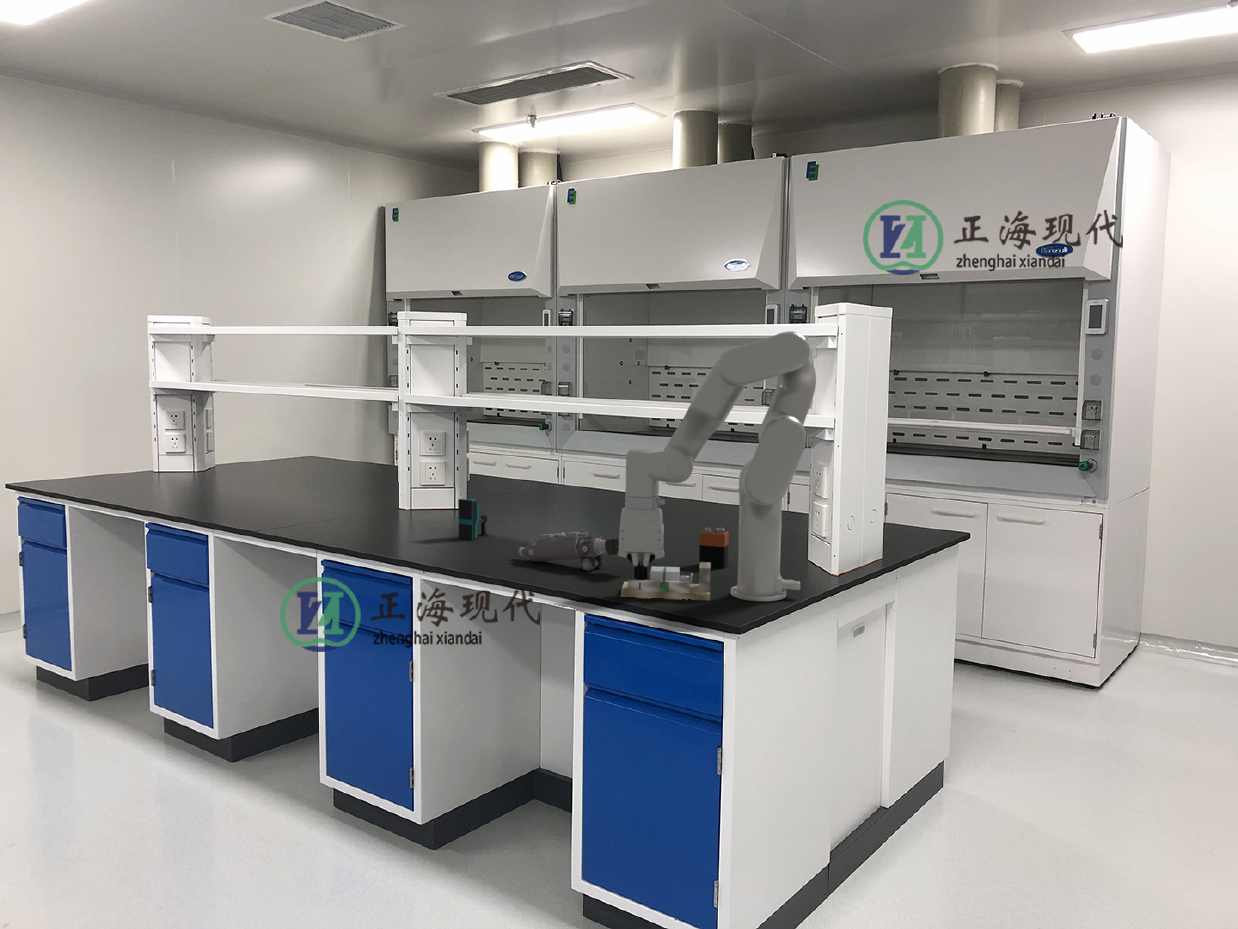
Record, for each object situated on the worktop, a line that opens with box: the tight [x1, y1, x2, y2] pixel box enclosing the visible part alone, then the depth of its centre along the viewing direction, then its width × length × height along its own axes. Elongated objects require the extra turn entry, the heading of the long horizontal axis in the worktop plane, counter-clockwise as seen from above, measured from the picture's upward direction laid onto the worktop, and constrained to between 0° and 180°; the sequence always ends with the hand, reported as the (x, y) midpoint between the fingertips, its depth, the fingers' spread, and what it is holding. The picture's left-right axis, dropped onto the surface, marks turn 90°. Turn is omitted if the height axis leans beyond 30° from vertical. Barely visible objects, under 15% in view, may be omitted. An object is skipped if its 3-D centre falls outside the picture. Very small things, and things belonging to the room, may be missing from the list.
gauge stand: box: [620, 562, 712, 601], centre depth 214 cm, size 20×9×7 cm, turn 85°
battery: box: [698, 527, 730, 569], centre depth 244 cm, size 4×7×10 cm, turn 67°
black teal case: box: [457, 498, 488, 541], centre depth 280 cm, size 6×12×10 cm
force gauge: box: [649, 566, 694, 585], centre depth 212 cm, size 10×8×4 cm
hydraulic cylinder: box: [517, 531, 619, 572], centre depth 241 cm, size 7×37×10 cm, turn 59°
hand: (640, 582), depth 215 cm, fingers closed
